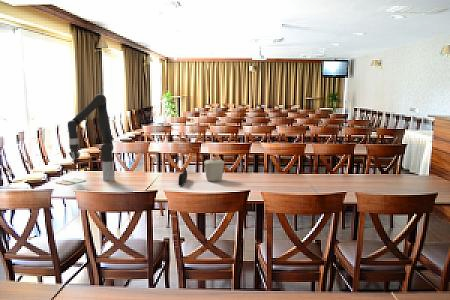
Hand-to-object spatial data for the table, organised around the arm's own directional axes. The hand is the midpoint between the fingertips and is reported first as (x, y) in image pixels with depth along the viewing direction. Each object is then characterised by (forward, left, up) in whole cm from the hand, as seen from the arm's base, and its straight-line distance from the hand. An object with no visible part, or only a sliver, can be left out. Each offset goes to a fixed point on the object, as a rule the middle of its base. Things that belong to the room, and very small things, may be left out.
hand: (75, 163), depth 352 cm
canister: (-97, -70, -16) cm, 121 cm away
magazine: (-80, -48, -16) cm, 95 cm away
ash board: (-2, +12, -16) cm, 20 cm away
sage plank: (-2, +2, -16) cm, 16 cm away
